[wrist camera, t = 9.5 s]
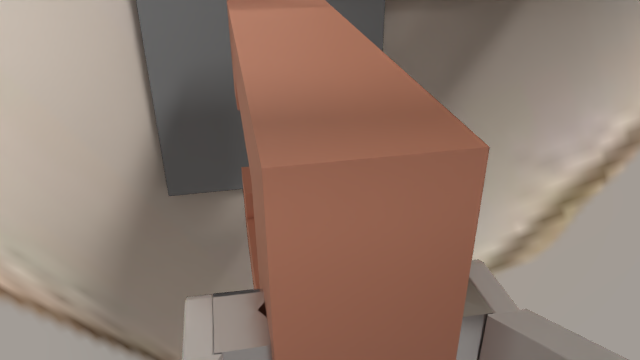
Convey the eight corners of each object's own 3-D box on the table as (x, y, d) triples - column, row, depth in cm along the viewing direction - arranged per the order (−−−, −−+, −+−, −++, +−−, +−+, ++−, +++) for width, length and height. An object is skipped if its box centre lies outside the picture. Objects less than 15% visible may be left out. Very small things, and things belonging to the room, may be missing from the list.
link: (319, -5, 17) (490, 147, 7) (321, 225, 22) (428, 532, 11) (226, -2, 17) (261, 168, 7) (247, 234, 21) (288, 562, 11)
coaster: (382, -44, 22) (387, -42, 22) (373, 170, 27) (376, 175, 26) (132, -36, 20) (130, -35, 20) (169, 189, 25) (168, 195, 25)
